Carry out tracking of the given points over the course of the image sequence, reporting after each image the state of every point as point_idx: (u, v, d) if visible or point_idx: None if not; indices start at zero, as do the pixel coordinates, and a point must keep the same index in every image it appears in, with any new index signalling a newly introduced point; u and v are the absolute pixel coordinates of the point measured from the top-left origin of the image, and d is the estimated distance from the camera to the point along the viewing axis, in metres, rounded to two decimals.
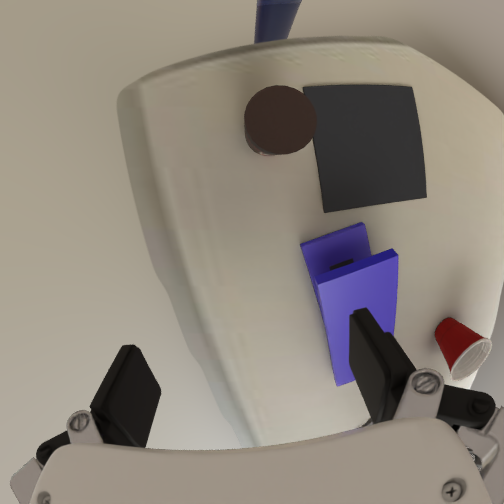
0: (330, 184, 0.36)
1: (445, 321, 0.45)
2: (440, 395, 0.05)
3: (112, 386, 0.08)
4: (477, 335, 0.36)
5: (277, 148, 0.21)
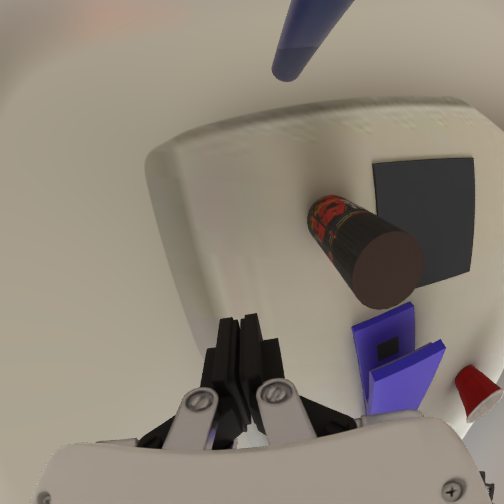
0: None
1: (466, 369, 0.42)
2: (297, 396, 0.07)
3: (229, 357, 0.09)
4: (493, 385, 0.33)
5: (380, 304, 0.18)
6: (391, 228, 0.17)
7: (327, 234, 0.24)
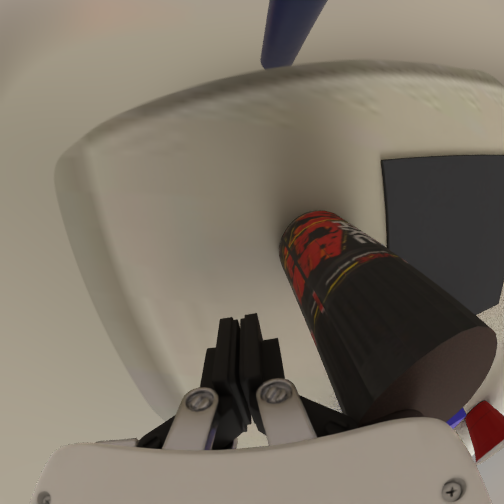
0: None
1: (479, 407, 0.31)
2: (297, 396, 0.07)
3: (229, 357, 0.09)
4: None
5: None
6: (455, 316, 0.06)
7: (308, 296, 0.13)
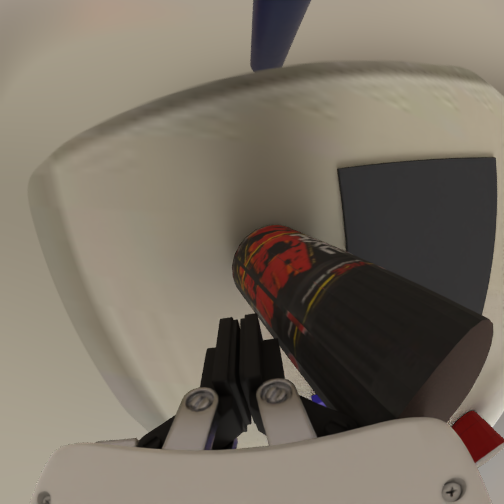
0: None
1: (465, 417, 0.31)
2: (297, 396, 0.07)
3: (229, 357, 0.09)
4: (496, 438, 0.22)
5: None
6: (458, 315, 0.06)
7: (281, 317, 0.11)
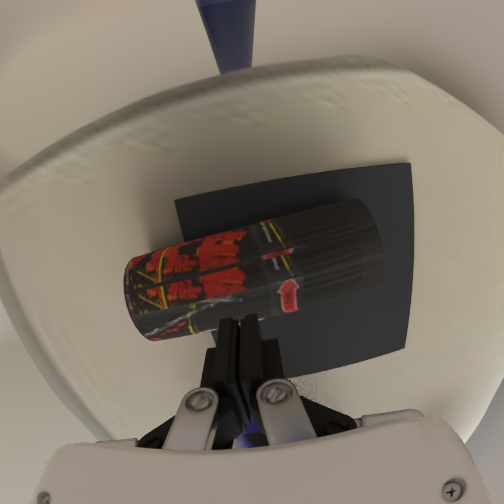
0: None
1: None
2: (297, 396, 0.07)
3: (229, 357, 0.09)
4: None
5: None
6: (344, 200, 0.17)
7: (257, 266, 0.14)
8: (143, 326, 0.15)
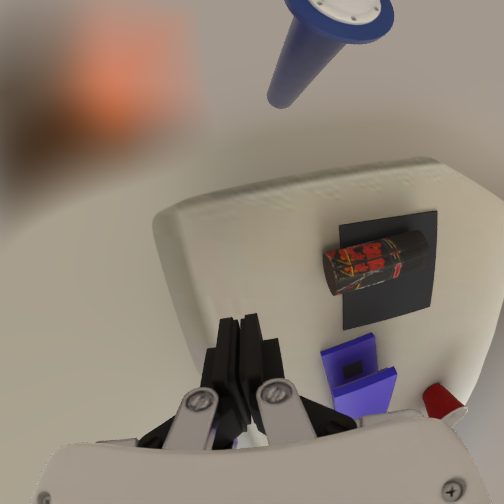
0: (351, 309, 0.42)
1: (432, 387, 0.50)
2: (297, 396, 0.07)
3: (229, 357, 0.09)
4: (456, 403, 0.42)
5: None
6: (412, 230, 0.36)
7: (388, 257, 0.33)
8: (339, 286, 0.34)
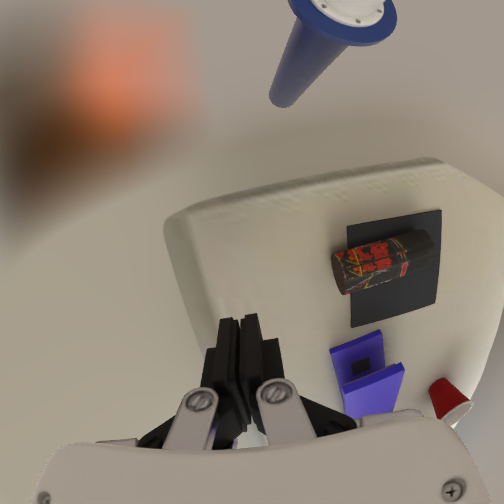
0: (359, 307, 0.43)
1: (438, 382, 0.51)
2: (297, 396, 0.07)
3: (229, 357, 0.09)
4: (462, 397, 0.42)
5: None
6: (417, 230, 0.36)
7: (395, 257, 0.34)
8: (348, 285, 0.35)
